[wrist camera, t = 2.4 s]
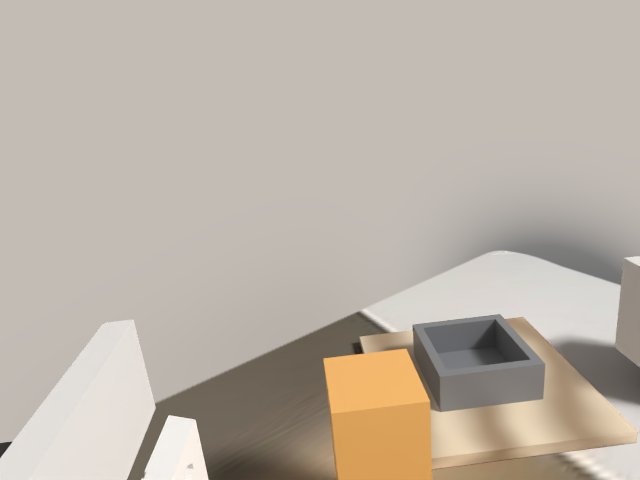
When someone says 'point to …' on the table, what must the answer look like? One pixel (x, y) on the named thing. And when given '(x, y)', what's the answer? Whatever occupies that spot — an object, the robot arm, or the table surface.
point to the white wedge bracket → (177, 453)
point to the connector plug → (378, 417)
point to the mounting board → (519, 412)
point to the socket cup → (477, 363)
